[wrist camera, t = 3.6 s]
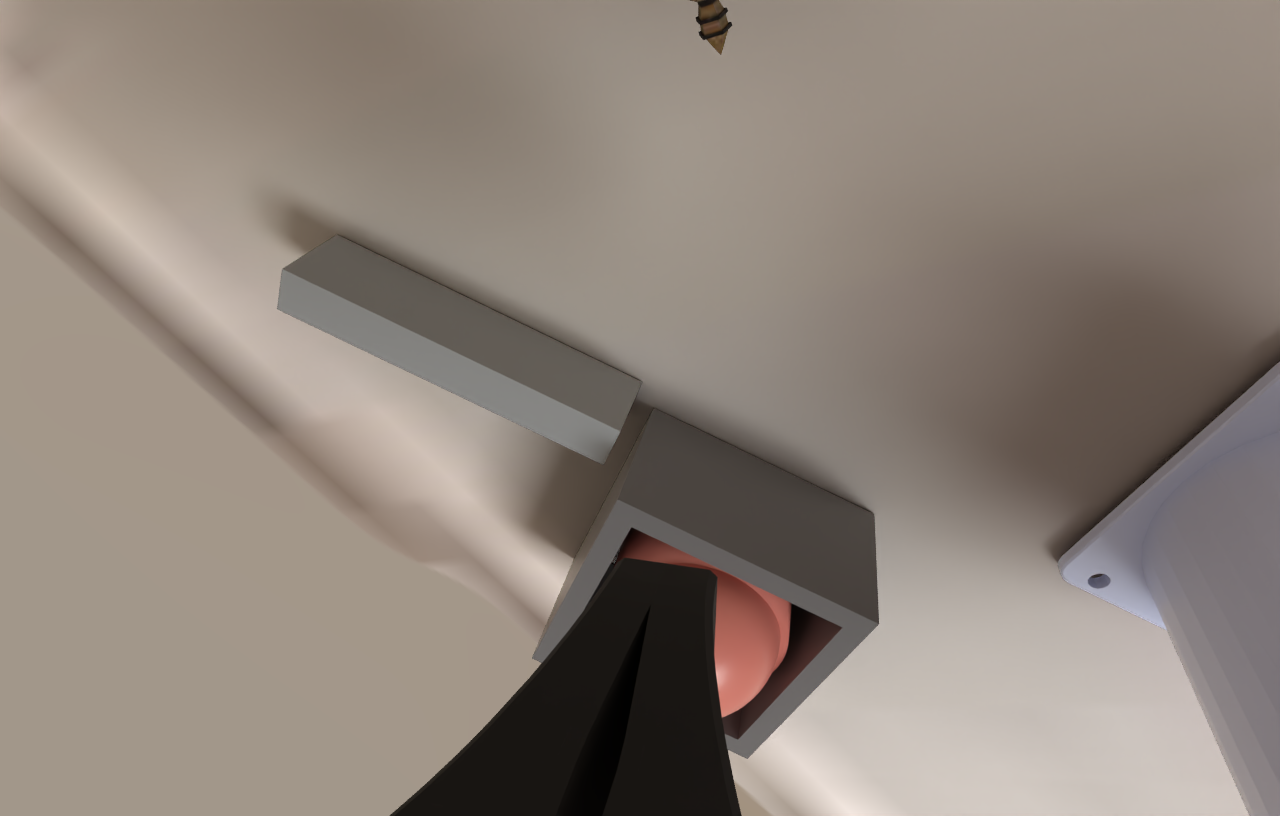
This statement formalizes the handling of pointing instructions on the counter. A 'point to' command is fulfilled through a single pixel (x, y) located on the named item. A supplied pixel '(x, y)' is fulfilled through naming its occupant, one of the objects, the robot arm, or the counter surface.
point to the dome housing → (739, 555)
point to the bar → (459, 345)
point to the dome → (730, 623)
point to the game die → (713, 22)
